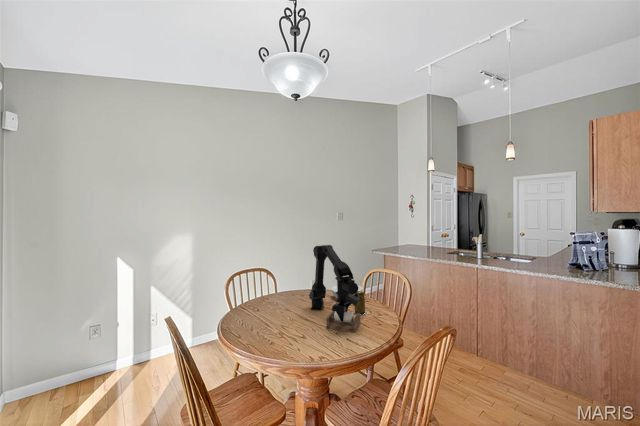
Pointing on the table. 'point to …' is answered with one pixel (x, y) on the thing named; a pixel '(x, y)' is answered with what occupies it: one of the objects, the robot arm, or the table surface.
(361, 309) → the condiment
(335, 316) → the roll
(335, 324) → the cradle
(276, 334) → the table surface
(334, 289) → the serving bowl
